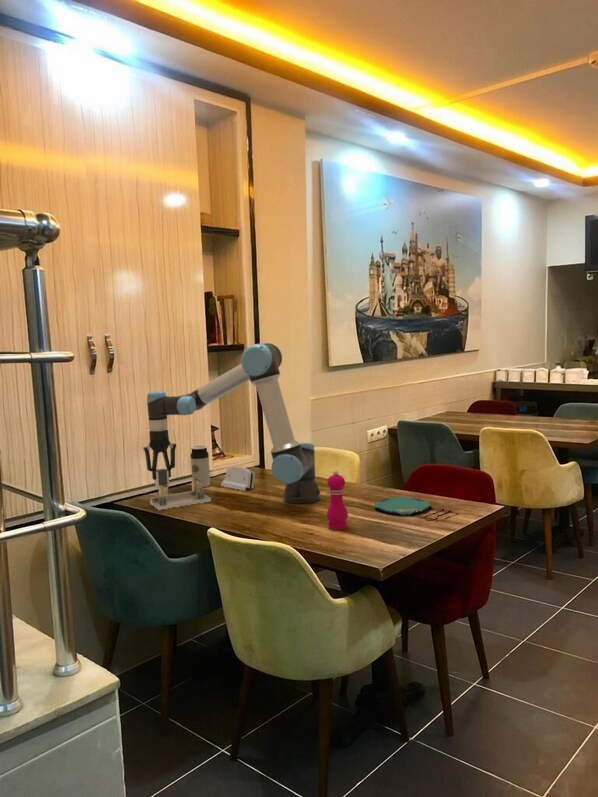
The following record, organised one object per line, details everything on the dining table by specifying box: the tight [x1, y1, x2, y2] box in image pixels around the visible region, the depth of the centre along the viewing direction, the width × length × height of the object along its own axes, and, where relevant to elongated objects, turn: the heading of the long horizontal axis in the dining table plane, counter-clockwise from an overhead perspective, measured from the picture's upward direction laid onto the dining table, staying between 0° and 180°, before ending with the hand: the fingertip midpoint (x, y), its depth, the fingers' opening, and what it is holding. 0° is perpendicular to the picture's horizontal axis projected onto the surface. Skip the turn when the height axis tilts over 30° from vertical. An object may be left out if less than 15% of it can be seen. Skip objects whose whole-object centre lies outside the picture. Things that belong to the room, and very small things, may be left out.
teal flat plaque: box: [374, 496, 433, 516], centre depth 236 cm, size 20×30×2 cm, turn 42°
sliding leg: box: [156, 468, 169, 497], centre depth 259 cm, size 4×8×11 cm, turn 28°
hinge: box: [220, 466, 256, 492], centre depth 285 cm, size 17×5×10 cm, turn 47°
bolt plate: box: [149, 478, 212, 511], centre depth 261 cm, size 22×12×8 cm, turn 118°
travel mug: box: [190, 444, 211, 488], centre depth 289 cm, size 8×8×18 cm
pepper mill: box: [326, 469, 349, 531], centre depth 219 cm, size 7×7×20 cm
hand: (162, 486), depth 261 cm, fingers closed on sliding leg, 3 cm apart
